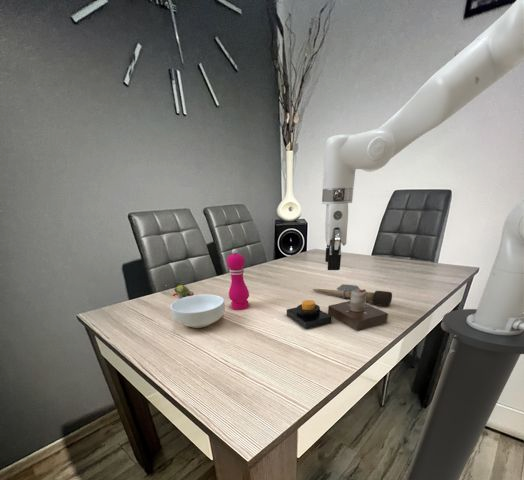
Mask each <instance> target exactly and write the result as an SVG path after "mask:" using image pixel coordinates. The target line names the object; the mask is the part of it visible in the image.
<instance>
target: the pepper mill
mask: <svg viewBox="0 0 524 480" xmlns="http://www.w3.org/2000/svg"><path fill="white" fill-rule="evenodd" d="M245 263H246V261H245V257H244V256H243V255H241V254H240V253H238V250H237V248H233V249H232V250H231V254H229V255H228V257H227V258H226V266H227V267H228V268H229V269H228V271H229V275H230V277H231V278H230V279H231V282H230V286H229V290H228V299H229V300H230V301H231V302H230V305H231V309H233V310H245V309H247V308H249V306H250V305H249V304H250V303H249V300H248V299H249V297H250V291H249V289H248V287H247V284H246V283H245V280H244V273H245V271H244V270H245V269H244V268H245V267H244V266H245V265H246V264H245Z"/></svg>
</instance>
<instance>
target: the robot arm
mask: <svg viewBox="0 0 524 480" xmlns="http://www.w3.org/2000/svg"><path fill="white" fill-rule="evenodd" d="M522 62H524V0H515V1H514V2H513V3H512V4H511V6H510V7H508V9H507V10H506V11H505V12H504V13H503V14H502V15H501V16H500V17H499V18H497V19H496V20H495V21H494V22H493V23H492V24H491V25H489V26H488V27H487V28H486V29H485V30H483V31H482V33H480V34H479V35H478V36H477V37H476V38H475V39H473V40H472V41H471V42H470V43H469V44H468V45H467V46H465V47H464V48H463V49H462V50H461V51H460V52H459V53H457V54H456V55H455V56H454V57H452V58H451V59H450V60H449V61H447V62H446V63H445V64H444V65H443V66H442V67H441V68H439V69H438V70H437V71H436V72H434V74H433V75H431V76H430V77H429V78H428V80H426V81H425V82H424V83H423V84H422V86H421V87H420V88H419V89H418V90H417V91H416V92H415V93H414V94H413V96H412V97H411V98H410V99H409V100H408V101H407V102H406V103H405V104H404V105H403V106H402V107H401V108H400V109H399V110H397V112H395V113H394V114H392V116H391V117H390V118H389V119H388V120H386V121H385V122H384V123H383V124H382V125H380V126H379V127H377V128H375V129H371V130H368V131H363V132H359V133H355V134H353V133H342V134H336V135H332V136H329V137H328V138H327V139H326V141H325V143H324V154H323V155H324V157H323V158H324V159H323V175H322V176H323V177H322V195H321V204H322V205H325V223H324V224H325V225H324V226H325V229H324V230H325V232H324V233H325V234H324V235H325V236H324V237H325V243H326V247H325V259H324V260H325V262H326V263H327V271H340V270H341V260H342V246H343V247H344V246H346V245H347V241H348V240H347V239H348V226H349V225H348V222H349V204H352V203H353V197H354V190H355V189H354V188H355V179H356V170H362V171H364V172H367V173H368V172H369V173H370V172H375V171H378V170H380V169H382V168H383V167H384V166H385V165H387V164H388V163H389V162H390V160H392V159H393V158H394V157H395V156H396V155H398V154H399V153H401V151H403V150H404V149H406V148H407V147H408V146H409V145H411V144H412V143H413V142H415V141H416V140H418V139H419V138H420V137H422V136H424V135H425V134H426V133H428V132H430V131H432V130H433V129H435V128H437V127H439V126H440V125H441V124H443V123H444V122H446V120H449V119H450V118H451V117H452V116H453V115H455V114H456V113H458V112H459V111H460V110H461V109H462V108H464V107H465V106H466V105H467V104H469V103H470V102H471V101H473V100H475V98H477V97H478V96H480V95H481V94H482V93H483V92H485V91H486V90H487V89H488V88H490V87H491V86H492V85H494V84H495V83H496V82H497V81H499V80H500V79H501V78H503V77H504V76H506V75H507V73H509V72H510V71H512V70H513V69H515V67H517V66H518V65H519V64H521V63H522ZM502 226H503V227H502V232H501V238H500V242H499V247H498V250H497V254H496V256H495V259H494V262H493V264H492V267H491V270H490V273H489V275H488V278H487V281H486V283H485V286H484V289H483V291H482V295H481V298H480V300H479V303H478V305H477V308H476V309H477V311H476V313H475V314H472V315H469V316H468V317H467V319H466V322H467V324H468V325H469V326H471V327H473V328H475V329H477V330H480V331H483V332H486V333H491V334H496V335H518V334H521V333H522V332H523V331H524V199H522V200H521V201H520V202H518V204H516V205H515V206H514V207H513V208H512V209H511V210H510V211H509V213H507V216H506V218H505V220H504V223H503V225H502Z"/></svg>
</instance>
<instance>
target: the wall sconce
mask: <svg viewBox="0 0 524 480" xmlns="http://www.w3.org/2000/svg"><path fill="white" fill-rule="evenodd" d="M311 290H312V291H314V292H317V293H323V294H326V295H327V294H328V295H333V296H339V297H342V299H346V298H348V299H351V292H352V291H353V290H362V289H361V288H360V286H358V285H356V284H345V283H344V284H343V283H342V284H341V285H339V286H338V287H337V288H336V289H327V288H326V289H325V288H312V289H311ZM392 301H393V293H392V292H391V291H385V290H375V291H374V292H372V291H371V292H370V291H367V297H366V302H372V304H373V305H374V306H375V305H376V306H383V307H389V306H390V305H391V303H392Z"/></svg>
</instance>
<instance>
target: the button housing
mask: <svg viewBox="0 0 524 480" xmlns="http://www.w3.org/2000/svg"><path fill="white" fill-rule="evenodd" d="M286 317H288V318H289V319H290V320H292V321H293V322H295V323H296V324H298V325H299V326H300V327H302V328H303V329H305V330H309V329H313V328H317V327H321V326H324V325H328V324H332V318H333V317H332V316H330V315H328V313H327V312H325V311H323V310H321V307H320V305H318V304H316V303H315V309H314V310H303V309H302V303H301V304H298V305H297V307H292V308H286Z"/></svg>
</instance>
